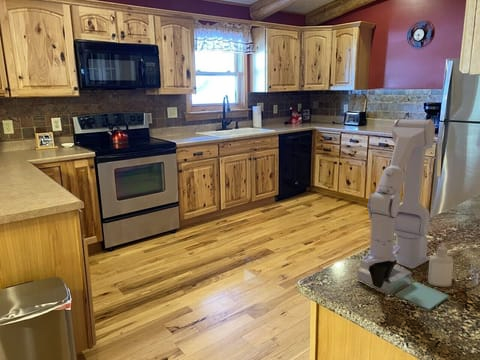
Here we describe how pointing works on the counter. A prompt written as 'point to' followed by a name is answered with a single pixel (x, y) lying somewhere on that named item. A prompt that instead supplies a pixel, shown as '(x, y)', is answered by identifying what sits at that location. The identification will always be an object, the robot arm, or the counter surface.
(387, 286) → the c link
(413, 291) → the mat
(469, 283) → the counter surface
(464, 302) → the counter surface
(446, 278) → the eye dropper bottle
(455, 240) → the counter surface
